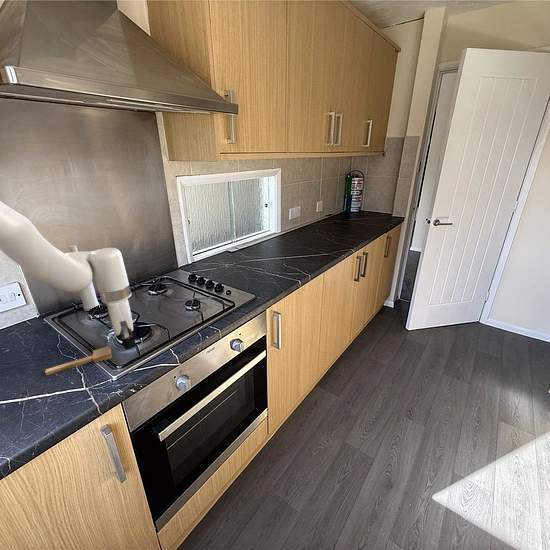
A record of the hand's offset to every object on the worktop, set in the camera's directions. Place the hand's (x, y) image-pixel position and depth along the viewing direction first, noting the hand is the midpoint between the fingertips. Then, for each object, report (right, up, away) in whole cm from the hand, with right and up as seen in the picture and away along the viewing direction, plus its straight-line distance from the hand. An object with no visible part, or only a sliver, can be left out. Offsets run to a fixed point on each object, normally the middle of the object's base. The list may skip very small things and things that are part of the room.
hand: (130, 346), depth 88 cm
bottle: (-26, +9, +23) cm, 36 cm away
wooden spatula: (-11, -3, -6) cm, 13 cm away
